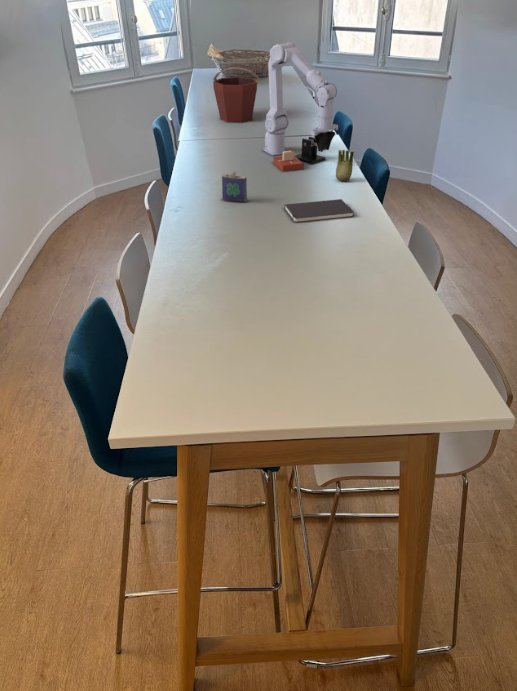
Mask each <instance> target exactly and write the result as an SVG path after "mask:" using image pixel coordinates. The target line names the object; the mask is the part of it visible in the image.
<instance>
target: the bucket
mask: <svg viewBox="0 0 517 691" xmlns="http://www.w3.org/2000/svg"><path fill="white" fill-rule="evenodd" d="M229 70H238V71H243V72H246V73H249V75H250V76H252V78H251V77H243V76H231V77H230V76H229V77H220V78H218V76H220V75H221V73H224V72H226V71H229ZM217 78H218V79H217ZM256 79H257V80H256ZM212 80H213V81H212V84H213V86H212V87H213V92H214V97H215V101H216V105H217V109H218V114H219V119H220V120H221V121H223V122H226V123H239V124H241V123H245V122H250V121H252V120H253V115H254V111H255V110H254V109H255V103H256V97H257V90H258V84H259V82H260V80H261V79H260V77H259V76H258V75H257V74H256V73H255V72H254V71H253V70H251V69H247V68H245V67H237V66H229V67H227V68H224V69H222V70H220V71H219V72H217V73H216V74H214V76H213V78H212Z"/></svg>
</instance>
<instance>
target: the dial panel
mask: <svg viewBox="0 0 517 691" xmlns="http://www.w3.org/2000/svg"><path fill="white" fill-rule="evenodd" d="M272 160H273V164H274V165H275V166H276V167H277V168H278V169H279V170H280V171H282V172H291V171H292V172H293V171H300V170H304V162H302V161H300V160H299V159H297V158H296V157H295V156H294V160H288V161H283V155H280V156H278V155H277V156H273V158H272Z"/></svg>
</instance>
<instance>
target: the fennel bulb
mask: <svg viewBox="0 0 517 691" xmlns="http://www.w3.org/2000/svg"><path fill="white" fill-rule="evenodd" d="M337 152H338V153H337V154H338V157H337V162H336V163H337V164H336V169H335V178H336V180H338V181H340V182H348V181H350V179H351V178H352V174H353V168H354V167H353V163H354V152H355V151H354V150H349V149H346V150H345V149H338V151H337Z"/></svg>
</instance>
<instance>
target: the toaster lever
mask: <svg viewBox="0 0 517 691" xmlns="http://www.w3.org/2000/svg"><path fill="white" fill-rule="evenodd" d="M307 139H308V140H311V139H309V138H307ZM312 146H317V143H314V140H311V147H312ZM327 147H328V146H327V144H326V143H325V142H324V149H323V151H327V150H326V149H327Z"/></svg>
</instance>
